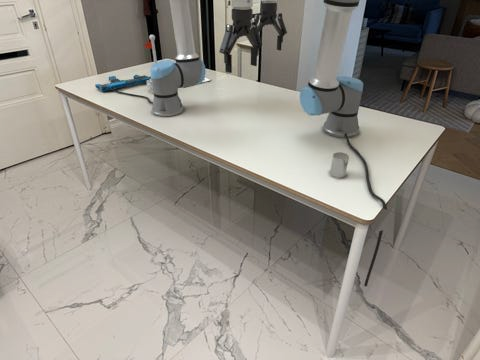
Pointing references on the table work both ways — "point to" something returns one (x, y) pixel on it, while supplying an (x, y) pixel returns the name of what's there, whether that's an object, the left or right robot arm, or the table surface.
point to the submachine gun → (122, 82)
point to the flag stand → (152, 46)
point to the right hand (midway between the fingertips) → (267, 51)
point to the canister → (339, 165)
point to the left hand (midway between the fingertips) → (241, 68)
